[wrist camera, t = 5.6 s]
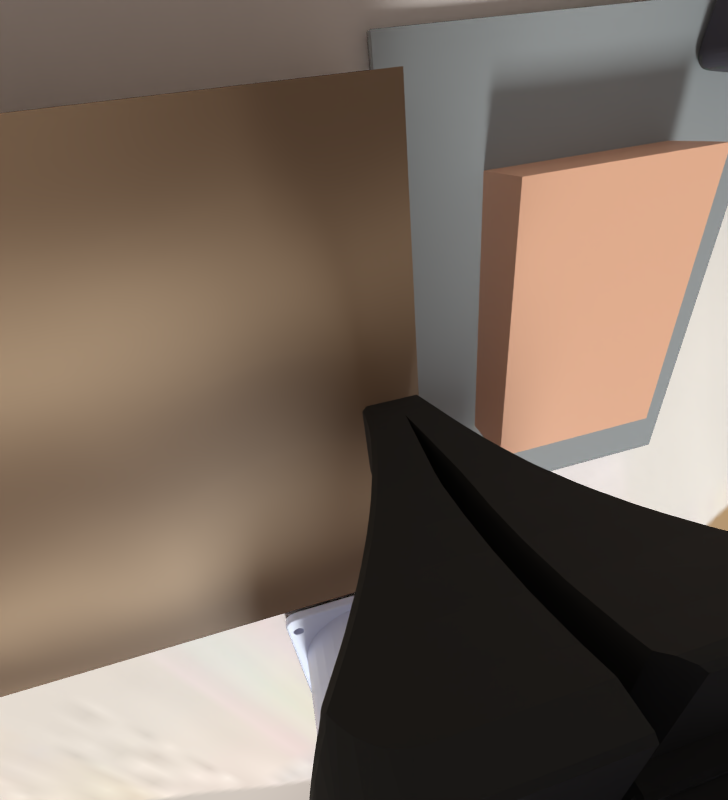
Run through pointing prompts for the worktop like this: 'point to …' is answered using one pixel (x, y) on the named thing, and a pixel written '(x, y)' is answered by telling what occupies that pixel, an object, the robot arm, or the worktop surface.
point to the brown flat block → (193, 359)
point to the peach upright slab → (585, 285)
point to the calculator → (716, 40)
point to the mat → (537, 156)
